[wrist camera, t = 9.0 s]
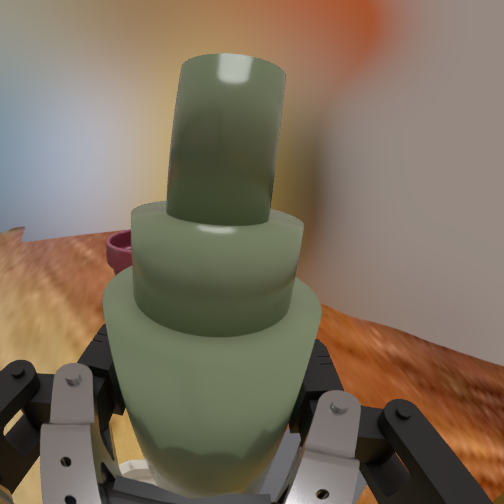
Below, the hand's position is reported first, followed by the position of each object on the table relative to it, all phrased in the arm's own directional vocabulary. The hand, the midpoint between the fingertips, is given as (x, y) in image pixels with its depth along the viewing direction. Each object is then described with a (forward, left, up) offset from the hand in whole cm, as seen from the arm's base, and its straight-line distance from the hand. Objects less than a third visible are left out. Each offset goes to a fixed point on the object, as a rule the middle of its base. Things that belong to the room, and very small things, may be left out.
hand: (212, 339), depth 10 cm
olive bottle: (-2, -2, -10) cm, 10 cm away
